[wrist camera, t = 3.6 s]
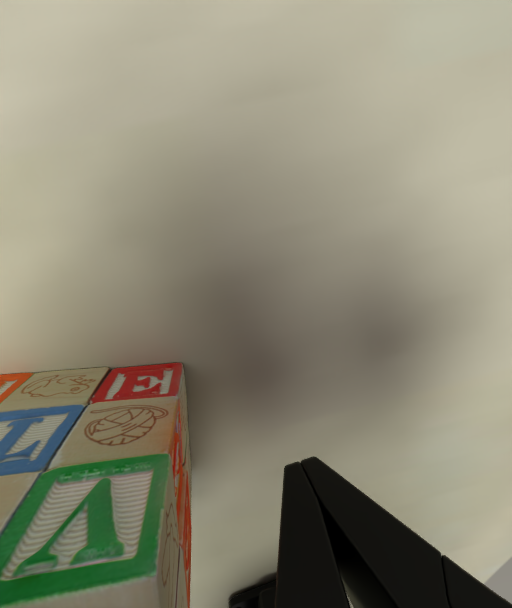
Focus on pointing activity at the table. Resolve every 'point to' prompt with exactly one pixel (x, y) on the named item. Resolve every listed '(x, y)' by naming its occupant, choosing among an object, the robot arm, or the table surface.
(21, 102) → the table surface
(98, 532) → the stack of blocks
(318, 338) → the table surface
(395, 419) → the table surface
